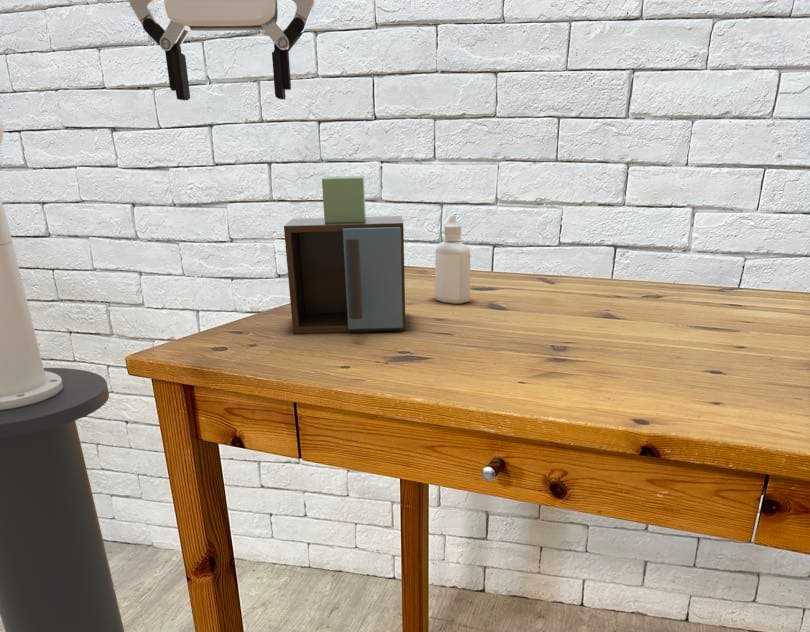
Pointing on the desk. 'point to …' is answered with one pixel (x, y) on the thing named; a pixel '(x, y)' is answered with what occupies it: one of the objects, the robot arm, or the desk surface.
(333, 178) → the block
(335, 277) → the closet
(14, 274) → the robot arm
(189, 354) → the desk surface
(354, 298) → the closet door
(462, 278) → the eye dropper bottle
